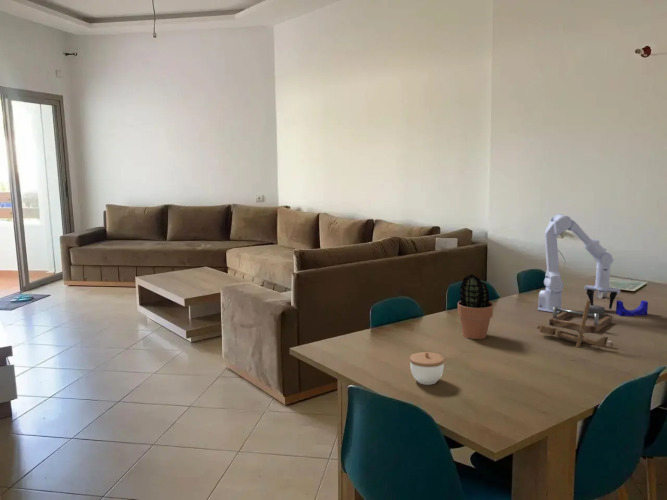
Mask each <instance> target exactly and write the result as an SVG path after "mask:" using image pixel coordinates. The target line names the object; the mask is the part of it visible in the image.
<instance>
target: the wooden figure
mask: <svg viewBox="0 0 667 500" xmlns="http://www.w3.org/2000/svg"><path fill="white" fill-rule="evenodd" d="M590 302H591V301H590V300H589V299H588V300H586V301H585V305H584V311H583V313H584V314H583V315H582V318H581V323H580V324H581V327H580V329H578V330H577V333H575V332H572V331H569V330H566V329H558V328H557V327H554V326H551V325H545V324H543V325H542V324H540V325H538V326H537V328H536V329H537V330H539V333H542V334H546V335H549V336H554V337H555V338H559V339H563V340H567V341H571V342H574V343H576V344H575V348H581V345H582V343H585V344H589V345H591V346H592V345H593V346H595V347H599V348H606V347H607V343H610V342H612V341H611V340H608V338H609V336H603V337H601V338H598V339H597V340H594V339H590V338H588V337H585V335H584V334H586V333H587V332H586V330H584V327H585V324H586V322H587V318H588V316H587V315H588V310H589V306H590V305H591V304H590Z"/></svg>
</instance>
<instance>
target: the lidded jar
mask: <svg viewBox="0 0 667 500" xmlns="http://www.w3.org/2000/svg"><path fill="white" fill-rule="evenodd" d="M409 364H410V366H409V367H410V372H411V374H412V376H413V379H414V380H416V381H417V383H418V384H420V385H424V386H425V385H426V386H430V385H434V384H437V382H438V381H439V380H440V379H441V377H442V375H443V373H444V367H445V358H444V356H443V355H441V354H439V353H437V352H436V353H435V352H430V351H423V352H421V351H420V352H416V353H415V352H414V353H413V354H410V357H409Z"/></svg>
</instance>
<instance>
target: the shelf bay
mask: <svg viewBox="0 0 667 500" xmlns="http://www.w3.org/2000/svg"><path fill="white" fill-rule="evenodd" d="M571 314H572V313H568V312H562V311H561V312H559V313H557V318H553V317H551V318H550V319H549V321H548V322H549V324H548V326H551V327H556V328H557V327H558V328H563V329H564V328H565V329H569V330H574V331H578V329H580V327H581V323H580V322H573V321H568V320H565V319H568V318H569V317H571ZM611 318H612V316H609V315H607V316H606V315H605V316H604V317H602V318H601V319H600V320H599V324H598V325H594V324H592V325H591V324H586V323H585V327H584V330H586V332H585V333H591V334H596V333H598V332H599V331H601V330H602V329H603V328H605V327H606V326H608V325H609V324H610V323H611Z"/></svg>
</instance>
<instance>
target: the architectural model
mask: <svg viewBox="0 0 667 500" xmlns="http://www.w3.org/2000/svg"><path fill="white" fill-rule="evenodd" d="M595 296H596V299H602V298H606V299H608V292H601V291H595Z"/></svg>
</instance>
